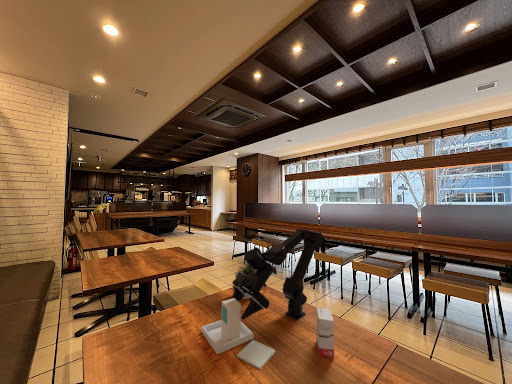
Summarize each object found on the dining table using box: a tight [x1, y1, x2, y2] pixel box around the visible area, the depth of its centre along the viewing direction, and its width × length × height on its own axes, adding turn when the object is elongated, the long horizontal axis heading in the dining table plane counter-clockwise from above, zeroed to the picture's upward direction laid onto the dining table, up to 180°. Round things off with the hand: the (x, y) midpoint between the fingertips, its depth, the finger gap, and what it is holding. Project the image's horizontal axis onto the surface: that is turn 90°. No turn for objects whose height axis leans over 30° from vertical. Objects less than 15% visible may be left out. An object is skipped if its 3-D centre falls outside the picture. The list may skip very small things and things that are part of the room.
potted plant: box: [234, 262, 256, 300], centre depth 112 cm, size 13×14×20 cm
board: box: [236, 339, 276, 370], centre depth 69 cm, size 9×9×1 cm
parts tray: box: [201, 319, 254, 355], centre depth 78 cm, size 14×14×2 cm
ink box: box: [316, 307, 335, 359], centre depth 73 cm, size 9×5×12 cm, turn 168°
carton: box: [221, 298, 242, 343], centre depth 76 cm, size 5×5×13 cm
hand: (235, 313), depth 77 cm, fingers open, 9 cm apart
